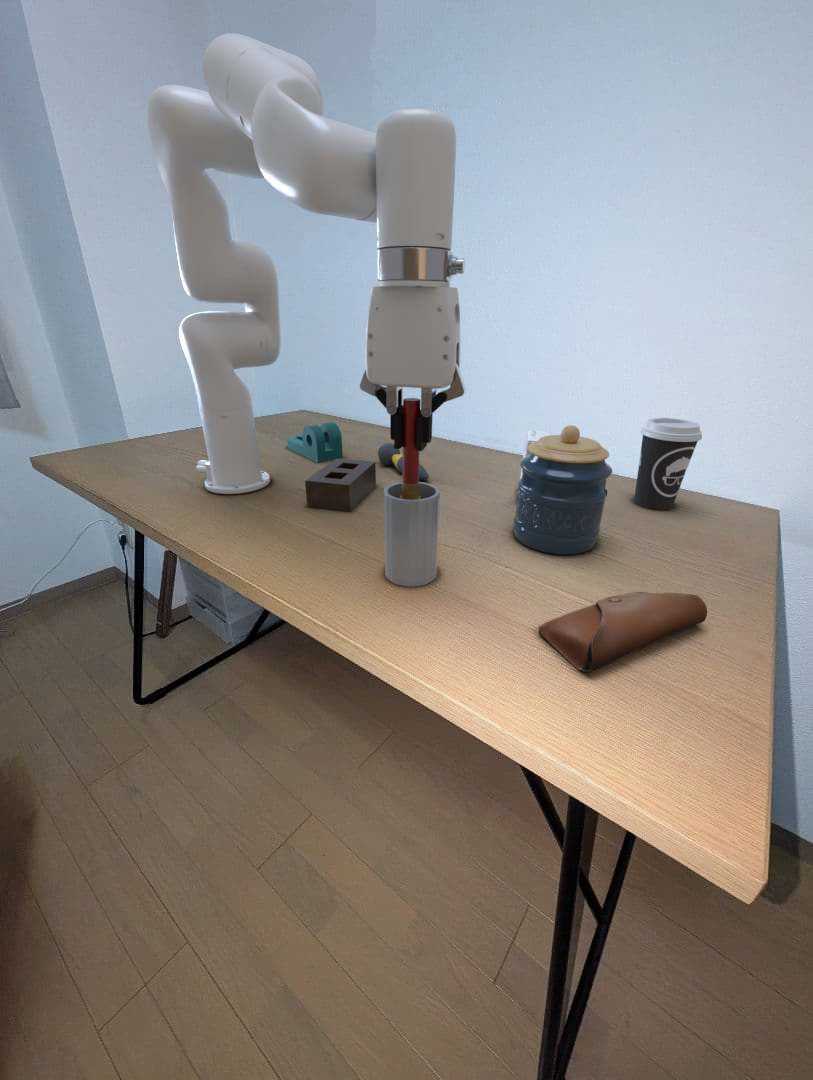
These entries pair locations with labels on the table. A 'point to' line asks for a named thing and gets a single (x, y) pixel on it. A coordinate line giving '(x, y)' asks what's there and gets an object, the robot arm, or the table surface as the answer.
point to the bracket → (318, 442)
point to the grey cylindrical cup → (411, 535)
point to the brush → (410, 450)
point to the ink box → (533, 437)
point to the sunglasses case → (620, 626)
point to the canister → (562, 493)
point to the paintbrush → (397, 459)
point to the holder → (341, 484)
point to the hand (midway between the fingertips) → (411, 446)
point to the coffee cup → (664, 460)
